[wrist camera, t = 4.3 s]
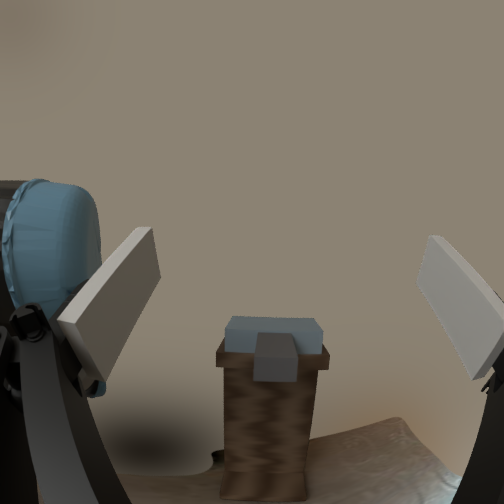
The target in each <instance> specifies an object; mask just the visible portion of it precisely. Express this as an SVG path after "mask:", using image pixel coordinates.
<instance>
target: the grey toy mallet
mask: <svg viewBox="0 0 504 504" xmlns="http://www.w3.org/2000/svg"><path fill="white" fill-rule="evenodd" d="M322 342H323V330H322V329H321V327H320V326H319V325H318V324H317V322H316V321H315V320H314V318H271V317H270V318H269V317H244V316H232V318H231V320H230V321H229V323H228V325H227V326H226V328H225V352H239V353H255V355H254V376H253V381H268V382H296V379H297V367H298V355H297V354H321V353H322Z"/></svg>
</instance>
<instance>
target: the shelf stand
mask: <svg viewBox="0 0 504 504" xmlns="http://www.w3.org/2000/svg"><path fill="white" fill-rule="evenodd" d="M254 355H255V353H239V352H225V337H224V339H223V341H222V343H221V344H220V346H219V348H218V350H217V351H216V367H223V368H224V456H225V472H224V477H223V481H222V485H221V490H220V498H221V499H231V500H243V501H265V502H290V501H306V497H307V494H306V487H305V481H304V474H303V472H304V467H305V461H306V456H307V450H308V444H309V437H310V430H311V424H312V416H313V410H314V401H315V394H316V385H317V377H318V370H328V369H329V360H330V355H329V353H328V351H327V350H326V348H325V347H324V345H323V343H322V353H321V354H297V355H298V367H297V379H296V382H268V381H253V376H254Z"/></svg>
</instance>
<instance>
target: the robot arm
mask: <svg viewBox="0 0 504 504" xmlns="http://www.w3.org/2000/svg"><path fill="white" fill-rule="evenodd" d="M100 240H101V239H100V228H99V220H98V213H97V208H96V204H95V202H94V200H93V198H92V197H91V195H90V194H89V193H88V192H87V191H86V190H85V189H83V188H81V187H79V186H75V185H69V184H61V183H53V182H50V181H48V180H44V179H33V180H31V181H0V504H39V501H38V492H37V481H38V484H39V488H40V491H41V494H42V497H43V500H44V503H45V504H132V503H131V502H130V500H129V498H128V496H127V494H126V492H125V490H124V488H123V487H122V485H121V483H120V481H119V479H118V477H117V474H116V472H115V470H114V468H113V466H112V464H111V462H110V459H109V457H108V455H107V452H106V450H105V448H104V445H103V443H102V440H101V438H100V435H99V432H98V430H97V427H96V425H95V422H94V419H93V416H92V413H91V410H90V408H89V404H88V401H87V397H90V398H95V397H99V396H103V395H104V394H105V392H106V381H107V379H108V377H109V375H110V373H111V370H112V369H113V367H114V364H115V363H116V360H117V358H118V356H119V355H120V353H121V351H122V349H123V347H124V345H125V343H126V341H127V339H128V337H129V335H130V333H131V331H132V329H133V327H134V325H135V324H136V322H137V320H138V318H139V316H140V314H141V312H142V311H143V309H144V307H145V305H146V303H147V302H148V300H149V298H150V296H151V294H152V292H153V291H154V289H155V287H156V285H157V284H158V282H159V280H160V278H161V276H160V270H159V265H158V260H157V254H156V249H155V243H154V237H153V231H152V227H137V228H136V229H135V230H134V231H133V232H132V233H131V234H130V235H129V236H128V238H127V239H125V241H124V242H123V243H122V244H121V245H120V246H119V247H118V248H117V249H116V250H115V251H114V252H113V253H112V254H111V256H110V257H109V258H108V259H107V260H106V261H105V262H104V263H103V264H102V261H101V253H100V252H101V241H100ZM416 284H417V286H418V287H419V289H420V290H421V292H422V293H423V295H424V296H425V298H426V300H427V301H428V303H429V304H430V306H431V308H432V309H433V311H434V312H435V314H436V316H437V318H438V319H439V321H440V323H441V324H442V326H443V328H444V330H445V331H446V333H447V335H448V336H449V338H450V340H451V342H452V344H453V346H454V348H455V349H456V351H457V353H458V355H459V357H460V359H461V361H462V362H463V364H464V367H465V369H466V371H467V373H468V375H469V377H470V379H471V380H475V379H479V378H482V377H484V376H485V375H486V374H487V372H488V371H489V369H490V368H491V367H493V368H494V370H495V372H494V373H493V375H492V376H491V377H490V379H489V380H488V382H487V383H486V384H485V385H484V387H483V388H482V390H481V392H483V391H484V390H485V389H486V388H487V387H489V390H488V391H487V392H486V394H488V395H487V400H486V404H485V409H484V413H483V417H482V422H481V425H480V428H479V432H478V435H477V439H476V442H475V445H474V448H473V451H472V454H471V457H470V460H469V463H468V465H467V468H466V470H465V473H464V475H463V478H462V480H461V483H460V485H459V487H458V489H457V492H456V494H455V496H454V498H453V500H452V502H451V504H504V302H503V301H501V298H500V297H499V296H498V295H497V293H496V292H495V291H493V290H492V289H491V288H490V286H489V285H488V284H487V283H486V282H485V281H484V280H483V278H482V277H481V276H480V275H479V274H478V273H477V272H476V271H475V270H474V269H473V267H472V266H471V265H470V264H469V263H468V262H467V261H466V260H465V259H464V258H463V257H462V256H461V255H460V254H459V253H458V252H457V251H456V250H455V249H454V248H453V247H452V246H451V245H450V244H449V243H448V242H447V241H446V240H445V239H444V238H443V237H442V236H436V235H429V239H428V243H427V246H426V250H425V254H424V257H423V261H422V264H421V268H420V271H419V274H418V277H417V280H416ZM36 477H37V480H36Z"/></svg>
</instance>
